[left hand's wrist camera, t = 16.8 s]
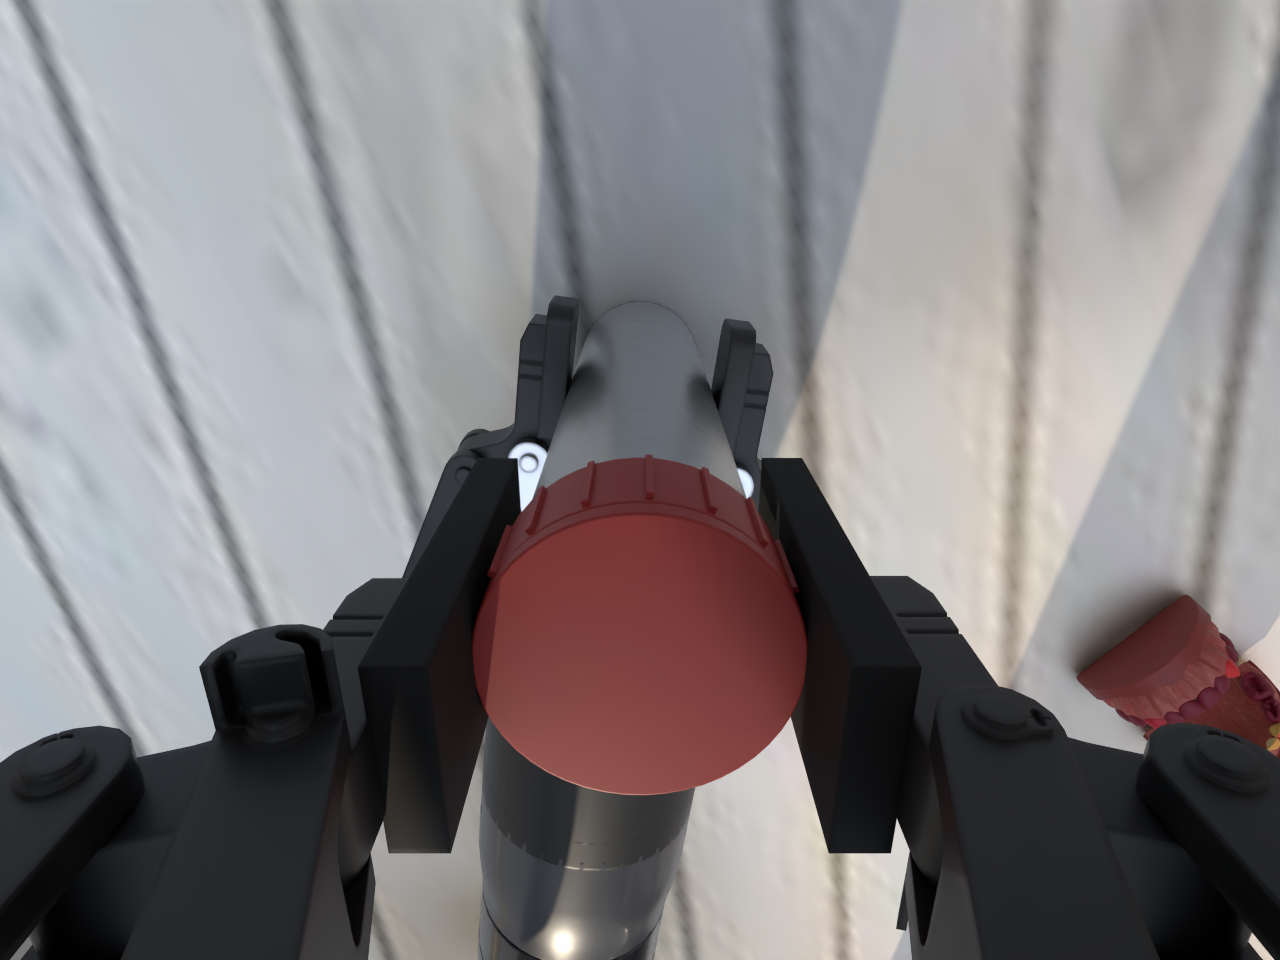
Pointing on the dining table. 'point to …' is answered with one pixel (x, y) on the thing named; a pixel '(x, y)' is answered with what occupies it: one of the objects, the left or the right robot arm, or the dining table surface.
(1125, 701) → the dental model
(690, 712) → the lid
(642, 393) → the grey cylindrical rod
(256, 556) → the dining table surface
